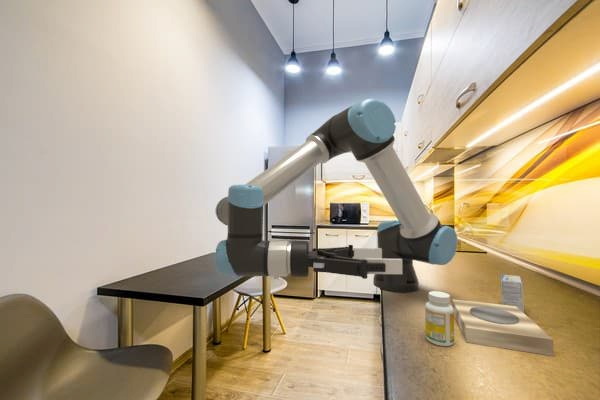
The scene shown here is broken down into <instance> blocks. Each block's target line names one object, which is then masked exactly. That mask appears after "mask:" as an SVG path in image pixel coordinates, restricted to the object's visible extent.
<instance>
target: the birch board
mask: <svg viewBox="0 0 600 400" xmlns="http://www.w3.org/2000/svg"><path fill="white" fill-rule="evenodd" d="M451 306H452V307H453V309H454V319H455V320H456V322H457V324H458V326H459V328H460V331H461V333H462V336H463V338H464V340H465V342H466V343H469V344H475V345H480V346H481V345H482V346H488V347H495V348H501V349H506V350H515V351H521V352H528V353H533V354H540V355H547V356H553V357H554V356H555V355H554V353H555V352H554V350H555V349H554V339H553V338H552V336H550V335H549V334H548V333H546V332H545V331H544V330H543V329H542V328H541V327H540V326H539V325H537V324H536V323H535V321H533V320H532V319H531V318H530V317H528V316H527V315H526V313H525V312H524V313H523V312H522V311H521V310H520V309H519V308H517V307H516V306H509V305H502V304H499V303H498V304H497V303H488V302H480V301H469V300H460V299H451Z"/></svg>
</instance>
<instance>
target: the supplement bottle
mask: <svg viewBox="0 0 600 400" xmlns="http://www.w3.org/2000/svg"><path fill="white" fill-rule="evenodd" d="M428 300H429V301H426V303H425V305H424V306H425V308H424V309H425V311H424V312H425V313H424V315H425V317H424V318H425V338H426V340H427V341H428V342H430V343H431V344H434V345H437V346H439V347H450V346H452V345H454V343H455V316H454V309H453V307H452V304H450V302H451V295H450V294H449V293H446V292H443V291H437V290H434V291H433V290H431V291H429V292H428Z"/></svg>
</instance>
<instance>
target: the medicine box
mask: <svg viewBox="0 0 600 400" xmlns="http://www.w3.org/2000/svg"><path fill="white" fill-rule="evenodd" d="M500 279H501V280H500V289H501V290H500V291H501V293H500V295H501V305H509V306H516V307H517V308H519V309H520V310H521V311H522V312H523V313H524V314H525V311H524V294H523V293H524V289H523V280H522V278H521V276H520V275H511V274H501V277H500Z"/></svg>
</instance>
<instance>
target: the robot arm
mask: <svg viewBox="0 0 600 400" xmlns="http://www.w3.org/2000/svg"><path fill="white" fill-rule="evenodd" d="M395 123H396V118H395V114H394V112H393V111H392V109H391V108H390V107H389V106H388V105H387V103H385V102H384V101H382V100H380V99H376V98H371V97H369V98H366V99H364V100H361V101H357V102H355V103H353V104H352V105H350V106H348V107H347V108H345V109H344V110H342V111H341V112H338V113H336V114H335V115H333V116H331V117H330V118H328V120H326V121H325V122H324V123H323V124H322V125H321V126H320V127H318V128H317V129H315V130H314V132H313V133H311V134H309V135H308V136H307V137H306V138H305V142H304V143H303V144H301V145H299V146H298V147H297V148H295V149H294V150H292V151H291V152H290V153H288V154H287V155H285V156H284V157H282V158H281V159H279V160H278V161H276V162H275V163H274V164H272V165H271V166H269V167H268V168H267V169H265V170H264V171H263V172H261V173H260V174H258V175H257V176H255V177H254V178H251V180H250V181H248V182H247V183H245V184H232V185H230V186H229V187H228V191H227V192H228V193H227V194H228V195H227V196H225V197H223V198H222V199H220V200H219V201H218V202H217V204H216V206H215V216H216V218H217V220H218V221H220V223H221V224H223V225H225V226H227V236H226V237H227V238H226V239H224V240H220V241H219V242H218V243H217V245H216V247H215V254H214V267H215V270H216V272H217V273H218V274H219V275H221V276H229V277H230V276H231V277H232V276H233V277H236V278H237V277H238V278H239V277H240V278H241V277H274V279H275V280H279V277H288V276H289V274H290V276H291V277H292V278H307V277H308V276H309V268H313V272H314V273H326V274H327V273H328V274H329V273H330V274H337V275H343V276H353V277H360V278H362V280H363V279H368V275H373V279H372V280H373V283H372V284H373V286H375V287H377V289H381V290H385V291H389V292H397V293H398V292H399V293H404V292H405V293H407V292H415V291H417V290H419V288H420V287H419V285H420V284H419V278H418V277H417V273H416V270H415V268H414V264H413V263H414V262H413V261H417V262H421V263H424V264H430V265H433V266H434V265H436V266H437V265H438V266H445V265H448V264H449V263H450V262H451V261H452V260H453V259H454V257H455V255H456V253H457V249H458V236H457V232H456V231H455V229H454V228H453V227H451V226H448V225H443V224H442V223H441V221H440V219H439V218H438V216H437V215H436V214H434V213H430V212H429V211H428V209H427V207H426V205H425V204H424V202H423V200H422V198H421V196H420V195H419V193H418V190H417V189H416V187H415V185H414V183H413V182H412V179H411V178H410V176H409V174H408V173H407V172H408V171H406V169H405V167H404V165H403V164H402V163H403V162H402V161H401V160H400V157H399V156H398V154H397V152H396V151H395V148H394V145H395V141H396V138H395V136H394V134H395V132H396V128H397V127H396V124H395ZM346 153H352V155H353V156H354V158H355V160H356V161H357V162H359V163H364V164H365V166H366V168H367V169H368V171H369V173H370V174H371V177H372V178H373V179H374V181H375V183H376V185H377V186H378V189H380V192H381V193H382V194H383V196H384V198H385V200H386V201H387V204H388V205H389V207H390V208H391V210H392V212H393V213H394V215H395V217H396V220H395V219H394V220H385V221H381V222H379V223H378V225H377V233H376V234H377V235H376V236H377V248H375V247H373V248H372V247H367V248H365V247H354V245H353V244H348V246H341V247H340V246H339V247H325V248H323V247H322V248H321V247H319V248H316V247H314V248H312V249H311V251H310V250H309V242H308V241H307V240H293V241H291V242H289V240H282V239H281V240H275V239H274V240H265V239H264V206H265V205H267V204H268V203H269V202H271V200H273V199H275V198H276V197H277V196H278V195H280V194H281V193H282V192H284V191H285V190H286V189H287V188H289V187H290V186H291V185H293V184H294V183H295V182H297V181H298V180H300V179H301V178H303V176H305V175H306V174H307V173H309V172H310V171H311V170H313V169H314V168H315V167H317V166H318V165H319V164H326V163H327V162H329V161H330V160H332V159H334V158H335V157H336V158H337V157H338V156H340V155H344V154H346Z"/></svg>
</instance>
